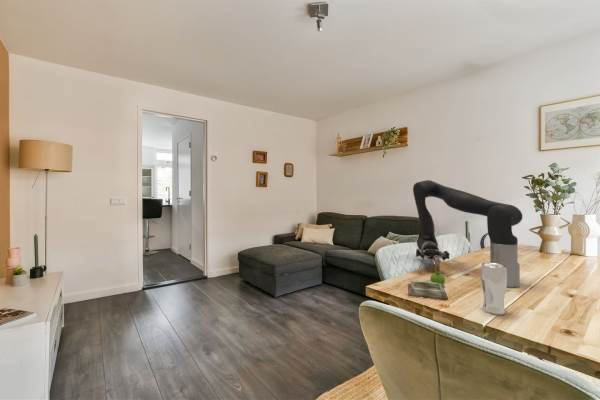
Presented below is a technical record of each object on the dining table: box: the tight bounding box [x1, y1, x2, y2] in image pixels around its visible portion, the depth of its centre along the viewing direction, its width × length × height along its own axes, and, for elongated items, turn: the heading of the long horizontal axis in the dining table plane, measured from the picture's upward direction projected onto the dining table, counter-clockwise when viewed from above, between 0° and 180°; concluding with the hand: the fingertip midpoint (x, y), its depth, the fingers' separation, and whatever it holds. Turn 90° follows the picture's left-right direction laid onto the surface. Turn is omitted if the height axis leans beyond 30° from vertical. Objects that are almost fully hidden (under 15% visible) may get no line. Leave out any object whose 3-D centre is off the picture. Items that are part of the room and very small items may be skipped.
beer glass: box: [480, 262, 508, 316], centre depth 89 cm, size 7×7×15 cm
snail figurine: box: [429, 255, 446, 286], centre depth 115 cm, size 5×6×12 cm
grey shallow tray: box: [407, 280, 449, 301], centre depth 106 cm, size 13×12×3 cm
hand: (433, 257), depth 125 cm, fingers open, 8 cm apart
